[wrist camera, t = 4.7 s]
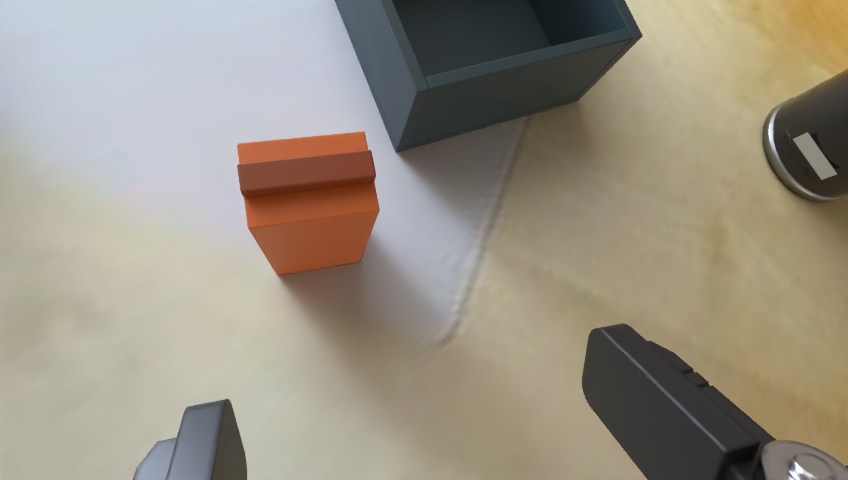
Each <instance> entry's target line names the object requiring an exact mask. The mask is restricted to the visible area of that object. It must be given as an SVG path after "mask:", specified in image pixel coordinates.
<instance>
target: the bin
mask: <svg viewBox="0 0 848 480" xmlns="http://www.w3.org/2000/svg"><path fill="white" fill-rule="evenodd" d="M335 2H336V4H337V7H338V9H339V12H340V14H341V17H342V19H343V22H344V24H345V27H346V29H347V32H348V34H349V37H350V39H351V42H352V44H353V47H354V49H355V52H356V54H357V57H358V59H359V62H360V64H361V67H362V69H363V72H364V74H365V77H366V79H367V82H368V84H369V87H370V89H371V92H372V94H373V97H374V99H375V102H376V104H377V107H378V109H379V112H380V114H381V117H382V119H383V122H384V124H385V127H386V129H387V132H388V134H389V137H390V139H391V142H392V144H393V147H394V149H395V152H400V151H403V150H407V149H410V148H414V147H417V146H421V145H424V144H428V143H431V142H435V141H438V140H442V139H445V138H449V137H452V136H456V135H459V134H463V133H466V132H470V131H473V130H477V129H480V128H484V127H487V126H491V125H494V124H498V123H501V122H505V121H508V120H512V119H515V118H519V117H522V116H526V115H529V114H533V113H536V112H540V111H543V110H547V109H550V108H554V107H557V106H561V105H564V104H568V103H571V102H575V101H578V100H579V99H580V98H581V97H582V96H583V95H584V94H585V93H586V92H587V91H588V90H589V89H590V88H591V87H592V86H593V85H594V84H595V83H596V82H597V81H598V80H599V79H600V78H601V77H602V76H603V75H604V74H605V73H606V72H607V71H608V70H609V69H610V68H611V67H612V66H613V65H614V64H615V63H616V62H617V61H618V60H619V59H620V58H621V57H622V56H623V55H624V54H625V53H626V52H627V51H628V50H629V49H630V48H631V47H632V46H633V45H634V44H635V43H636V42H637V41H638V40H639V39H640V38H641V37H642V34H641V32H640V30H639V28H638V26H637V24H636V22H635V20H634V18H633V16H632V14H631V12H630V10H629V8H628V6H627V4H626V2H625V0H335Z"/></svg>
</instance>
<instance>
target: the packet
mask: <svg viewBox="0 0 848 480" xmlns="http://www.w3.org/2000/svg"><path fill="white" fill-rule="evenodd" d="M237 149H238V156H239V164H238V166H237V167H238V175H239V182H240V190H241V193H242V195H243V197H244V201H245V209H246V216H247V224H248V229H249V230H250V232H251V233H252V235H253V237H254V238H255V240H256V242H257V243H258V245H259V246H260V248H261V250H262V251H263V253H264V255H265V256H266V258H267V260H268V261H269V263H270V264H271V266H272V268H273V269H274V271H275V273H276V274H277V275H283V274H289V273H295V272H301V271H307V270H313V269H319V268H325V267H331V266H337V265H343V264H349V263H355V262H360V260H361V258H362V255H363V252H364V250H365V247H366V245H367V242H368V239H369V237H370V234H371V231H372V229H373V226H374V223H375V221H376V218H377V215H378V213H379V210H380V209H379V204H378V199H377V194H376V189H375V184H374V181H375V177H376V172H375V167H374V162H373V157H372V152H371V150H368V147H367V142H366V137H365V132H355V133H344V134H334V135H323V136H313V137H302V138H292V139H281V140H271V141H260V142H250V143H239V144H237Z"/></svg>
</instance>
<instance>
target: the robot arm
mask: <svg viewBox="0 0 848 480" xmlns="http://www.w3.org/2000/svg"><path fill="white" fill-rule="evenodd" d="M763 142H764V147H765V151H766V154H767V157H768V160H769V162H770V164H771V166H772V167H773V169H774V171H775V172H776V174H777V175H778V176H779V178H780V179H781V180H782V181H783V182H784V183H785V184H786V185H787V186H788V187H789V188H790V189H791V190H793V191H794V192H796V193H797V194H799V195H800V196H802V197H804V198H807V199H809V200H812V201H817V202H830V201H834V200H837V199H840V198H844V197H846V196H848V69H847V70H845V71H843V72H841V73H839V74H837V75H836V76H834V77H832V78H830V79H828V80H826V81H824V82H822V83H821V84H819V85H817V86H815V87H813V88H811V89H810V90H808V91H806V92H804V93H802V94H800V95H799V96H797V97H795V98H791V99H789V100H787V101H785V102H783V103H781V104H780V105H778V106H776V107H775V108H774V109H773V110H772V111H771V112H770V113H769V115H768V116H767V118H766V121H765V124H764V129H763ZM582 388H583V392H584V395H585V398H586V400H587V402H588V404H589V405H590V407H591V408H592V409H593V411H594V412H595V413H596V415H597V416H598V417H599V418H600V420H601V421H602V422H603V423H604V425H605V426H606V427H607V429H608V430H609V431H610V432H611V434H612V435H613V436H614V437H615V439H616V440H617V441H618V443H619V444H620V445H621V446H622V448H623V449H624V450H625V451H626V453H627V454H628V455H629V457H630V458H631V459H632V460H633V462H634V463H635V464H636V465H637V467H638V468H639V469H640V471H641V472H642V473H643V474H644V476H645V477H646V478H647V479H648V480H848V466H844V465H843V464H842V463H840V462H839V461H838V460H836V459H835V458H833V457H832V456H830V455H828V454H827V453H825V452H823V451H821V450H819V449H817V448H815V447H812V446H809V445H807V444H803V443H800V442H796V441H790V440H776V439H775V438H773V437H772V436H771V435H770V434H768V433H767V432H766V431H765V430H764V429H763V428H761V427H760V426H759V425H758V424H757V423H756V422H754V421H753V420H752V419H751V418H750V417H749V416H747V415H746V414H745V413H744V412H743V411H742V410H740V409H739V408H738V407H737V406H736V405H735V404H733V403H732V402H731V401H730V400H729V399H727V398H726V397H725V396H724V395H723V394H722V393H720V392H719V391H718V390H717V389H716V388H715V387H713V386H709V384H708V381H706V380H705V379H704V378H703V377H702V376H701V375H699V374H698V373H697V372H695V373H694V372H693V369H692V368H691V367H690V366H689V365H688V364H687V363H685V362H684V361H683V360H682V359H681V358H679V357H678V356H677V355H676V354H675V353H673V352H671V351H669V350H667V349H666V348H664V347H662V346H660V345H658V344H656V343H654V342H652V341H646V340H645V339H644V338H643V337H642V336H640V335H639V334H638V333H637V332H636V331H635V330H634V329H633V328H631V327H630V326H629V325H627V324H617V325H612V326H607V327H601V328H596V329H593V330H592V331H591V332H590V334H589V338H588V344H587V351H586V357H585V363H584V369H583V376H582ZM133 480H247V464H246V457H245V452H244V448H243V444H242V441H241V437H240V433H239V430H238V426H237V422H236V419H235V415H234V411H233V408H232V404H231V402H230V400H229V399H225V400H220V401H215V402H210V403H205V404H200V405H194V406H189V407H187V408H186V409H185V411H184V414H183V418H182V421H181V425H180V429H179V432H178V436H177V438H172V439H167V440H163V441H158V442H157V443H156V444H155V445H154V447H153V448H152V449H151V450H150V452H149V453H148V454H147V456H146V457H145V458H144V459H143V461H142V462H141V463H140V464H139V466H138V467H137V469H136V471H135V474H134V477H133Z"/></svg>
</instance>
